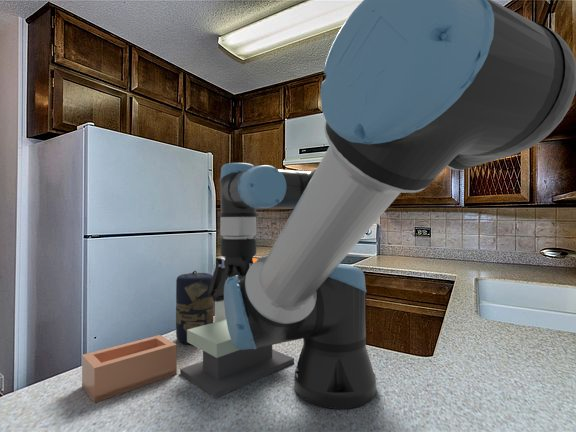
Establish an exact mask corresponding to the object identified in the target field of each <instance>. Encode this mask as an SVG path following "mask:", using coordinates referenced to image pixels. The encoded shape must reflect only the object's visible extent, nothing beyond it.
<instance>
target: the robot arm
mask: <svg viewBox="0 0 576 432" xmlns="http://www.w3.org/2000/svg"><path fill="white" fill-rule="evenodd" d="M323 73H324V74H325V75H326V76H325V79H324V80H323V81H322V82H321V84H320V104H321V111H322V113H323V114H322V115H323V116H324V119H325V122H324V127H323V128H324V134H325V137H326V139H327V142H328V145H329V146H328V148H327V150H326V152H325V153H324V155H323V157H322V159H321V160H320V163H319V164H318V166H317V167H316V168H315V169H313V170H310V171H308V170H307V171H306V170H305V171H304V170H290V169H289V170H288V169H278V168H276V167H274V166H273V165H268V164H264V165H254V164H251V163H248V162H247V163H246V162H229V163H225V164H224V165H222V166H221V168H220V178H219V185H220V220H219V221H220V223H219V224H220V225H219V227H220V228H219V229H220V230H219V231H220V232H219V233H220V234H219V235H220V236H221V237H222V238H221V239H220V255H221V257H216V258H215V267H214V268H215V269H214V271H213V275H212V276H213V278H212V281H211V285H210V288H209V292H208V295H209V296H212V298H213V301H214V306H213V314H214V323H215V322H219V321H222V320H226V322H227V327H228V331H229V335H230V338H231V340H232V343H233V344H234V346H235V347H236V348H238V349H240V350H247V349H257V348H259V347H264V346H269V345H272V346H273V345H277V344H283V343H287V342H292V341H297V340H301V339H302V348H301V350H300V355H299V358H298V360H297V364H296V368H295V369H294V375H293V378H294V379H293V381H294V382H293V383H294V390H295V392H296V393H297V394H298V396H300V398H301V399H303V400H305V401H306V402H308V403H310V404H312V405H315V406H319V407H321V408H329V409H340V410H341V409H343V410H344V409H352V408H357V407H361V406H364V405H365V404H368V403H369V402H371V401H372V400H373V399H374V398H375V396H376V394H377V379H376V374H375V372H374V370H373V369H374V368H373V365H372V362H371V359H370V356H369V353H368V352H369V351H368V350H367V337H366V336H367V328H366V326H367V324H366V323H367V322H366V321H367V320H366V319H367V318H366V314H367V289H366V277H365V273H364V271H363V270H362V269H361V268H359V267H357V266H353V265H349V264H341V262H342V261H343V260H344V259H345V258H346V257H347V256H348V254H349V253H350V252H351V251H352V250H353V248H354V247H355V246H356V245H357V244H358V243H359V242H360V241H361V239H362V238H363V237H364V235H366V233H367V232H368V231H369V230H370V229H371V228H372V226H374V224H375V223H376V222H377V221H378V219H380V217H381V216H382V215H383V213H384V212H386V211H387V209H388V208H389V207H390V206H391V204H392V203H393V202H394V201H395V200H396V199H397V197H398V196H399V195H400V194H401V193H402V194H403V193H404V194H406V193H407V194H408V193H409V194H411V193H412V194H413V193H419V192H421V191H423V190H425V189H427V188H428V187H429V186H430V185H431V183H432V182H434V180H435V179H436V178H437V177H438V176H439V175H440V174H441V173H442V172H443V171H444V170H445V169H446V168H448V169H450V170H454V171H462V170H467V169H469V168H474V167H476V166H480V165H483V164H487V163H490V162H493V161H498V160H501V159H503V158H504V159H505V158H509V157H511V156H514V155H517V154H519V153H520V154H521V153H522V152H524V151H526V150H528V149H530V148H533V147H534V146H536V145H537V144H539V143H541V142H542V141H543V140H544V139H545V138H546V137H548V136H549V135H550V134H551V133H552V132H554V130H555V129H556V128H557V127H558V126H559V124H560V123H561V122H562V121H563V120H564V117H566V115H567V113H568V111H570V108H571V105H572V103H573V100H574V97H575V95H576V59H575V56H574V53H573V52H572V50H571V48H570V46H569V44H568V42H566V41H565V40H564V39H563V38H562V37H561V35H559V34H558V33H557V32H556V31H555V30H553V29H552V28H550V27H548V26H546V25H543V24H541V23H539V22H535V21H532V20H530V19H528V18H527V17H524V16H523V15H521V14H519V13H517V12H515V11H513V10H511V9H510V8H508V7H506V6H503V5H501V4H500V3H497V2H496V1H495V0H362V1H361V2H360V3H359V5H357V7H356V8H355V9H353V11H352V12H351V14H349V16H348V17H347V19H346V20H345V21H344V23H343V24H342V26H341V28H340V29H339V31H338V33H337V35H336V37H335V38H334V41H333V43H332V44H331V46H330V49H329V52H328V54H327V57H326V60H325V64H324V68H323ZM261 209H262V210H263V209H264V210H268V209H270V210H271V209H272V210H273V209H274V210H278V209H280V210H281V209H283V210H286V209H287V210H288V209H289V210H291V209H292V211H291V213H290V215H289V217H288V219H287V221H286V223H285V224H284V226H283V228H282V229H281V231H280V233H279V235H278V236H277V238H276V240H275V242H274V244H273V246H272V247H271V249H270V251H269V253H268V255H264V256H262V257H260V258H257V259H258V260H256V261H255V262H254V263H253V258H254V257H255V256H256V255H257V239H256V238H255V236H256V235H257V210H261Z"/></svg>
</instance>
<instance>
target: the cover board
mask: <svg viewBox="0 0 576 432" xmlns="http://www.w3.org/2000/svg"><path fill="white" fill-rule="evenodd" d="M187 342H188V343H187V344H190V345H192V346H194V347H196V348H197V349H199V350H202V352H203V351H205V352H207V353H209V354H210V355H212V356H214V357H216V358H218V357H221V356H224V355H227V354H229V353H232V352H235V351H238V350H240V349H238V348H236V347H235V346H234V344H233V343H232V340H231V338H230V335H229V331H228V327H227V322H226V320H222V321H219V322H215V321H214V322H213V323H211V324H207V325H203V326H199V327H196V328H192V329H188V330H187Z"/></svg>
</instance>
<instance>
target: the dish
mask: <svg viewBox="0 0 576 432" xmlns="http://www.w3.org/2000/svg"><path fill="white" fill-rule="evenodd" d="M177 350H178V345H177V344H176V343H175V342H173V341H171V340H170V339H168V338H166V337H164V336H163V335H161V334H158V335H154V336H150V337H145V338H142V339H138V340H133V341H130V342H127V343H123V344H120V345H115V346H110V347H107V348H104V349H100V350H95V351H91V352H88V353H84V354H82V355H81V361H82V362H81V388H83V390H84V391H85V392H86V394H87V395H88V397H89V399H91V401H92V402H93V404H96V403H98V402H102V401H104V400H107V399H109V398H112V397H116V396H118V395H121V394H124V393H127V392H129V391H130V392H131V391H133V390H136V389H138V388H142V387H143V386H147V385H149V384H152V383H155V382H157V381H161V380H164V379H166V378H169V377H172V376H176V375H177V374H178V368H177V367H178V363H177V360H178V359H177V357H178V355H177V354H178V352H177Z"/></svg>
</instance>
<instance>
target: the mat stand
mask: <svg viewBox="0 0 576 432" xmlns="http://www.w3.org/2000/svg"><path fill="white" fill-rule="evenodd" d="M294 363H295V358H294V357H292V356H289V355H287V354H286V353H285V354H284V353H282V352H280V351H277V350H275V349H273V345H269V346H264V347H259V348H257V349H247V350H238V351H235V352H232V353H229V354H227V355H224V356H221V357H218V358H216V357H214V356H212V355H210V354H209V353H207V352H205V351H203V350H202V361H200V362H197V363H193V364H191V365H189V366H185V367H182V368H180V369H179V373H180V375H181V376H182V377H184V378H185V379H186V380H188V381H190V382H191V383H192V384H194V385H195V386H197V387H198V388H200V389H202V390H203V391H204V392H206V394H208V395H210V396H211V397H213V398H214V399H217V398H219V397H221V396H223V395H225V394H228V393H230V392H233V391H235V390H237V389H239V388H241V387H243V386H246V385H249V384H250V383H252V382H254V381H255V382H256V380H260V379H261V378H263V377H265V376H269V375H270V374H273V373H275V372H276V371H279V370H282V369H284V368H286V367H288V366H291V365H293V364H294Z"/></svg>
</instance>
